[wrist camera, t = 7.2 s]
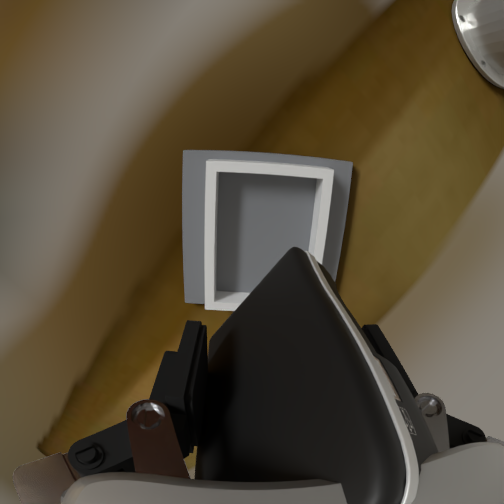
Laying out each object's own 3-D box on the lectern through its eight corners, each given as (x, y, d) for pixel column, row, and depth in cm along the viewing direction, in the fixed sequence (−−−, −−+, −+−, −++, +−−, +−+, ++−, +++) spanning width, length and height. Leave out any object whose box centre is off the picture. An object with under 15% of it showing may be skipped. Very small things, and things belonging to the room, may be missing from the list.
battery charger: (262, 369, 16) (283, 572, 5) (205, 339, 15) (183, 569, 4) (353, 281, 14) (479, 499, 3) (295, 235, 13) (422, 523, 2)
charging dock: (349, 161, 24) (361, 164, 21) (327, 303, 29) (334, 319, 26) (185, 150, 23) (177, 151, 21) (187, 297, 28) (181, 314, 26)
